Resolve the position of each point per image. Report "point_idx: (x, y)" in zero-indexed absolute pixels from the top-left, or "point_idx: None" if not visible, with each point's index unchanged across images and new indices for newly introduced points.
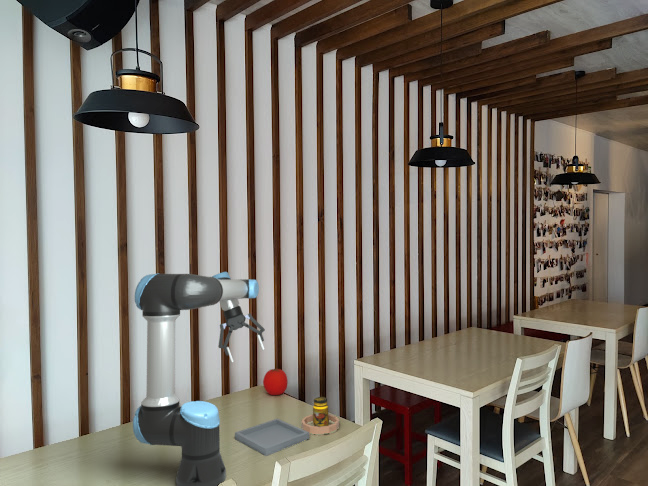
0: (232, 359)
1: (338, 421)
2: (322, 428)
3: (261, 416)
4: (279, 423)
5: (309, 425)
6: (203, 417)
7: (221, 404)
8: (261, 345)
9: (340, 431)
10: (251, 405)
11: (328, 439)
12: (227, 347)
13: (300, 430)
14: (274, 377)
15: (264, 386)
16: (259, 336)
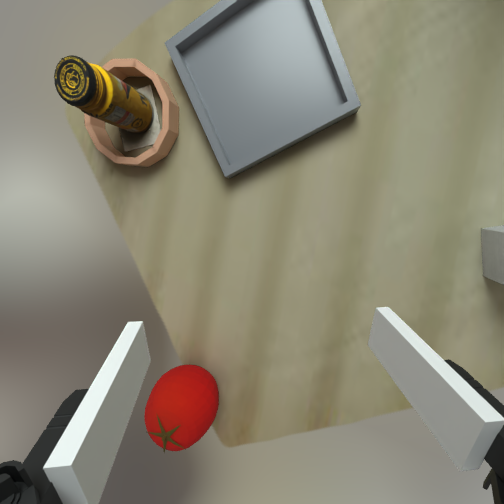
0: (390, 319)
1: None
2: (129, 60)
3: (257, 249)
4: (225, 155)
5: (155, 84)
6: None
7: (342, 375)
8: (127, 349)
9: None
10: (268, 334)
11: (133, 38)
12: (495, 419)
13: (183, 65)
14: (179, 396)
15: (217, 394)
16: (64, 441)
